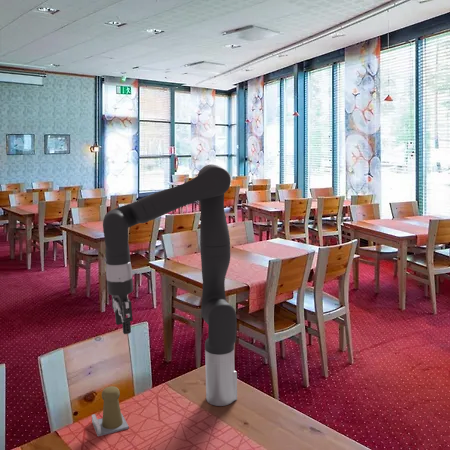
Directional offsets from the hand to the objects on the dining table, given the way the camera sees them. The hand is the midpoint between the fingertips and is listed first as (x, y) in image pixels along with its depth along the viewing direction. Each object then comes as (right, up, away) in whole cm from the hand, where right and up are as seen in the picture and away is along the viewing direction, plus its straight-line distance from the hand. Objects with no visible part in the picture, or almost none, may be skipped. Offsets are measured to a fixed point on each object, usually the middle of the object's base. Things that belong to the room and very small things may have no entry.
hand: (123, 328), depth 152 cm
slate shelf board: (-3, -28, -4) cm, 28 cm away
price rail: (-7, -28, -6) cm, 29 cm away
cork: (-2, -27, -4) cm, 28 cm away
